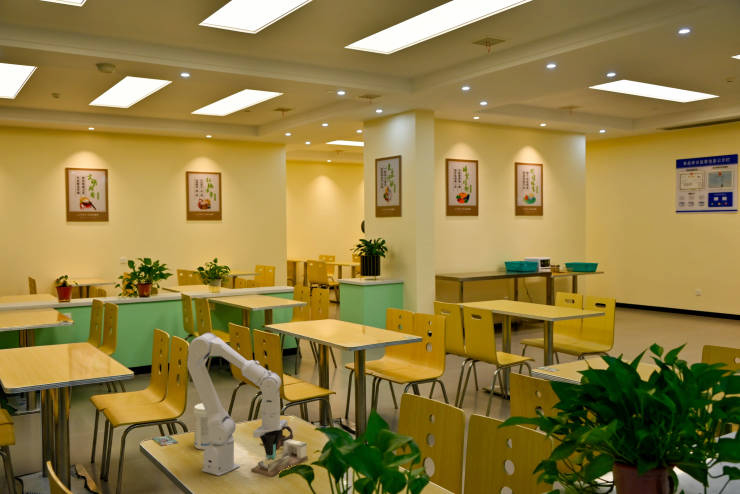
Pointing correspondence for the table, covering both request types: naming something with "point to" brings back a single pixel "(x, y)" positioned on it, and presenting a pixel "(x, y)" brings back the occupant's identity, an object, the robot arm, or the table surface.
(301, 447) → the socket block
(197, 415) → the supplement tub
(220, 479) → the table surface
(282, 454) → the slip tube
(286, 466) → the channel board
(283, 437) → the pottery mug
